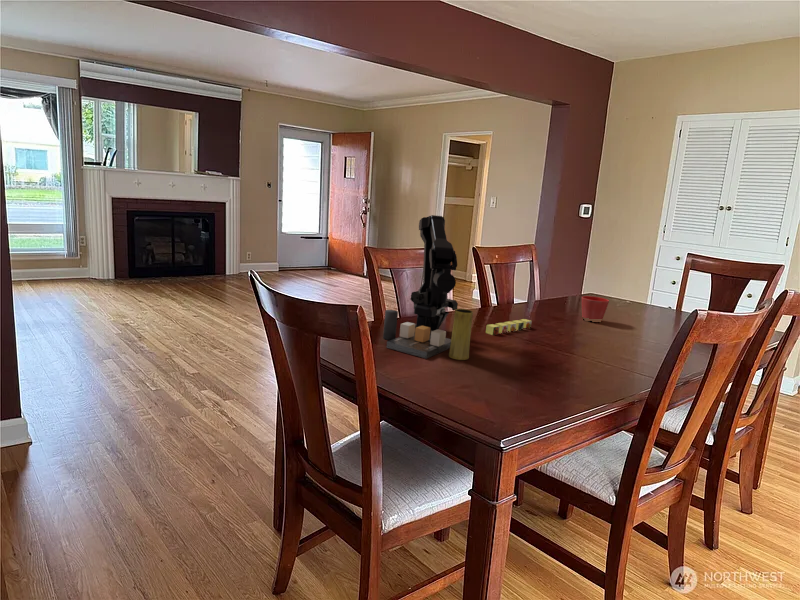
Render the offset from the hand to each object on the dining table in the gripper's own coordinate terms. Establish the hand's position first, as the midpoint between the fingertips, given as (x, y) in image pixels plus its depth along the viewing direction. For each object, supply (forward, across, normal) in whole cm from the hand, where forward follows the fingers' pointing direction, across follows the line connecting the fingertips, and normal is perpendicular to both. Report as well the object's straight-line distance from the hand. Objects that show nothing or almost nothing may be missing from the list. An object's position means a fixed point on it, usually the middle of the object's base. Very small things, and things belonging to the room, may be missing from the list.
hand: (433, 333), depth 170 cm
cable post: (+3, +8, -12) cm, 14 cm away
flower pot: (+3, -82, +31) cm, 88 cm away
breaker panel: (+3, +8, 0) cm, 8 cm away
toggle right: (+1, +8, +6) cm, 9 cm away
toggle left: (+1, +8, -6) cm, 9 cm away
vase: (+3, +8, +13) cm, 15 cm away
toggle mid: (+1, +8, 0) cm, 8 cm away
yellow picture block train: (+4, -36, +14) cm, 39 cm away
